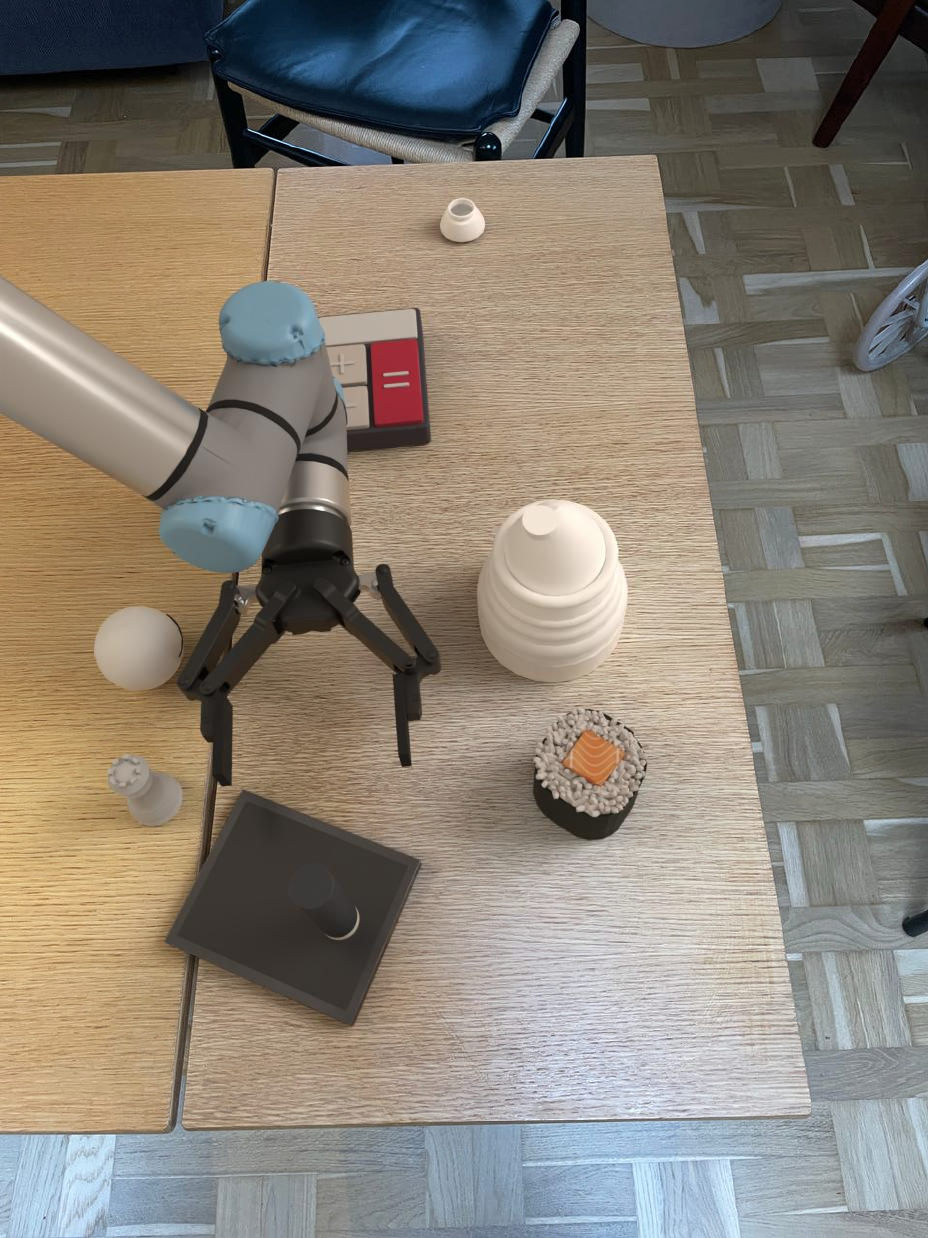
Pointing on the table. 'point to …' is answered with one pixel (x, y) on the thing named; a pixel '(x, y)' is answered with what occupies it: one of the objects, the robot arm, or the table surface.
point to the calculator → (380, 376)
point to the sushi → (588, 773)
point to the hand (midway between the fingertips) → (313, 771)
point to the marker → (324, 901)
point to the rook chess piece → (145, 790)
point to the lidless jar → (462, 221)
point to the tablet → (292, 906)
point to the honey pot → (552, 592)
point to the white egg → (139, 648)
